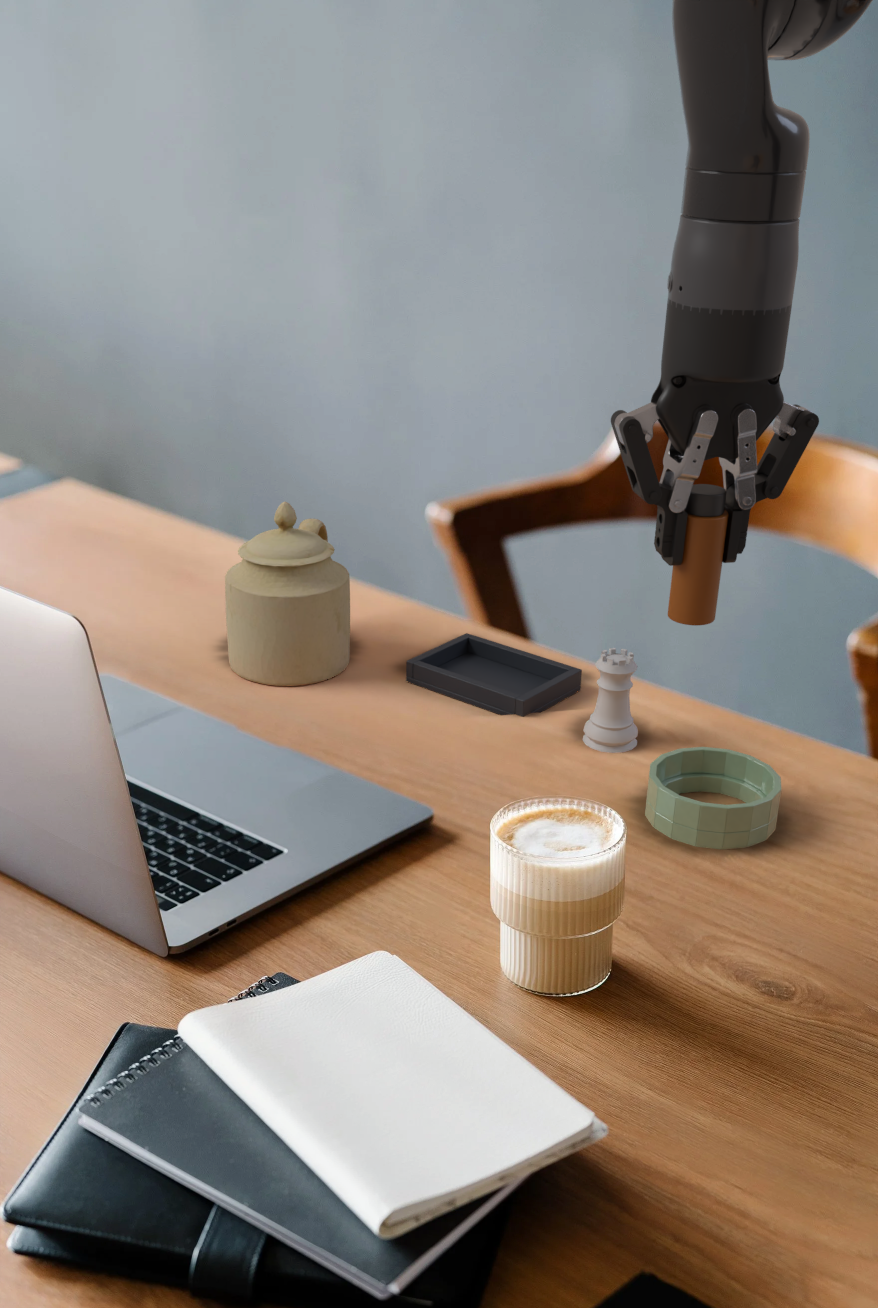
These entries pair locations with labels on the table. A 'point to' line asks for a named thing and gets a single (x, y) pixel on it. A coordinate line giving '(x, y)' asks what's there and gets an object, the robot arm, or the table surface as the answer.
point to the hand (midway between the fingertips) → (698, 559)
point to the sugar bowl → (288, 606)
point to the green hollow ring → (713, 775)
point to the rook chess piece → (613, 705)
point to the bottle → (700, 558)
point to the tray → (493, 676)
